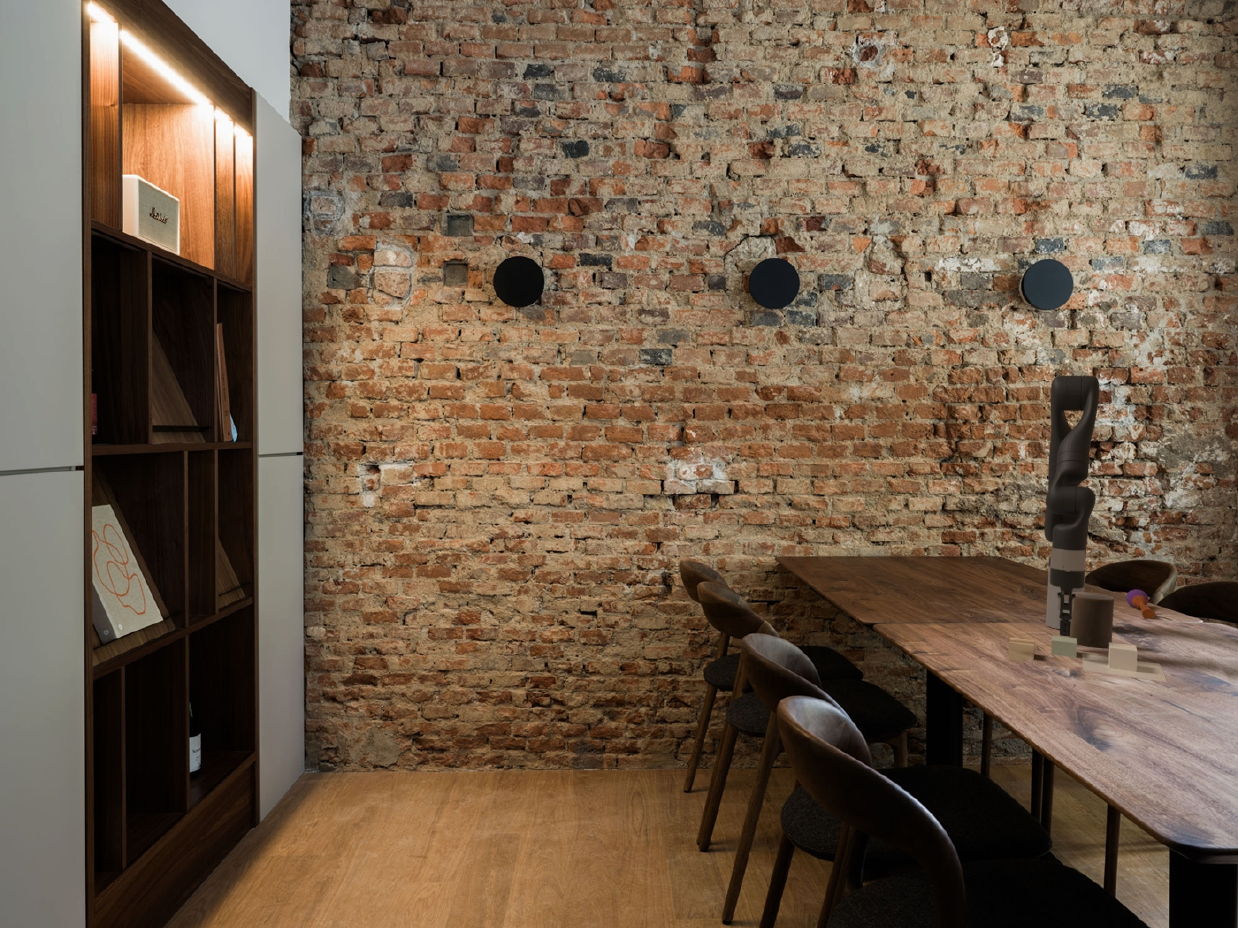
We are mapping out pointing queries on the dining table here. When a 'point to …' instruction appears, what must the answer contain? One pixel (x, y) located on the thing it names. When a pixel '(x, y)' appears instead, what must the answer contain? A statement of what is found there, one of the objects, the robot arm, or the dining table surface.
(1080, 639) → the pillar candle
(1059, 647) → the sage block
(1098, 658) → the baseplate
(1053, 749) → the dining table surface
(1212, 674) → the dining table surface
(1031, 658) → the maple block
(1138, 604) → the kendama
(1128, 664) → the beige block
